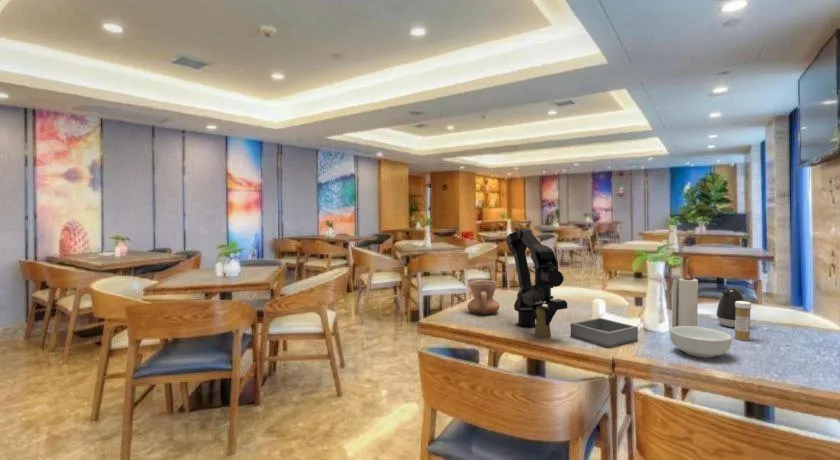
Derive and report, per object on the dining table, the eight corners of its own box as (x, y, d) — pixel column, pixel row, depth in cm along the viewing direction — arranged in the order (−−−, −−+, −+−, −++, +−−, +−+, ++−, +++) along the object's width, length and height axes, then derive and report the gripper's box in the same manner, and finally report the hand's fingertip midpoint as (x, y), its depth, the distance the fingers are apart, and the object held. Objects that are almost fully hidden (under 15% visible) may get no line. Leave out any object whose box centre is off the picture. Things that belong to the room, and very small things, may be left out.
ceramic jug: (468, 308, 213) (467, 278, 212) (499, 308, 211) (498, 278, 210) (466, 318, 195) (465, 286, 194) (500, 318, 193) (499, 286, 192)
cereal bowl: (707, 366, 132) (708, 342, 132) (658, 350, 148) (658, 329, 147) (743, 358, 139) (744, 335, 139) (692, 343, 154) (692, 323, 154)
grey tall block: (699, 337, 162) (700, 278, 161) (694, 340, 157) (695, 280, 156) (677, 333, 167) (678, 276, 166) (671, 336, 162) (672, 278, 161)
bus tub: (570, 336, 164) (570, 323, 164) (599, 330, 172) (599, 317, 172) (607, 348, 150) (608, 333, 150) (637, 340, 158) (637, 326, 158)
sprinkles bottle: (739, 336, 161) (739, 300, 161) (752, 340, 157) (753, 302, 157) (731, 338, 159) (732, 301, 159) (745, 341, 155) (746, 303, 155)
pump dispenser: (709, 324, 179) (710, 286, 178) (728, 321, 182) (729, 285, 182) (734, 330, 169) (735, 291, 169) (754, 328, 173) (755, 289, 172)
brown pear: (551, 338, 162) (552, 308, 161) (534, 337, 163) (534, 308, 162) (550, 334, 168) (550, 305, 167) (533, 333, 169) (534, 304, 168)
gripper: (509, 280, 168) (509, 321, 169) (545, 288, 152) (545, 333, 153) (531, 278, 174) (531, 317, 175) (568, 285, 158) (568, 328, 158)
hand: (542, 324), depth 165 cm, fingers closed on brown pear, 4 cm apart
